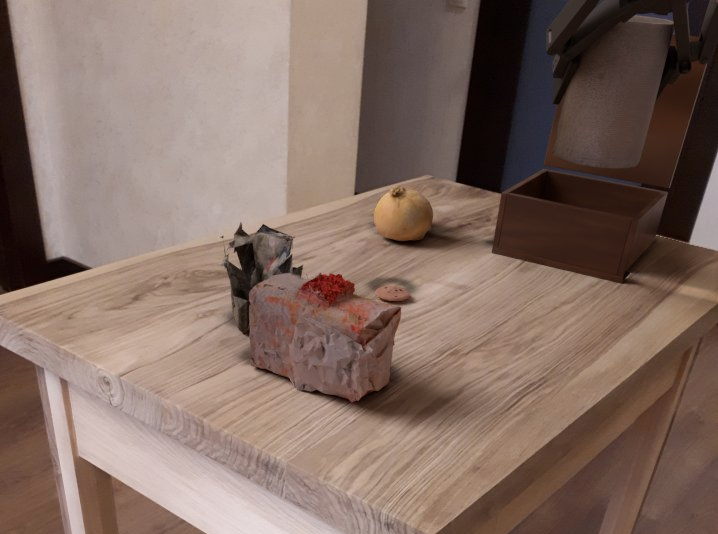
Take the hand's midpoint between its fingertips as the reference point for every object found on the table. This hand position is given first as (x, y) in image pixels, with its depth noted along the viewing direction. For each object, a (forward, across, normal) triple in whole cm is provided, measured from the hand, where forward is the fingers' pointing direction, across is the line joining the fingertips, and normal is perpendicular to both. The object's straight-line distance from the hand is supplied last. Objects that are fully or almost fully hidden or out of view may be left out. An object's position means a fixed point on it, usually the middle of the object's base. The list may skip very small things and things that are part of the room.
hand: (601, 96), depth 88 cm
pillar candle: (+2, 0, -6) cm, 7 cm away
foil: (+4, -36, -26) cm, 44 cm away
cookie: (+7, -22, -22) cm, 32 cm away
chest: (+22, +4, -7) cm, 23 cm away
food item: (-7, -30, -37) cm, 48 cm away
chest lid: (+15, +9, +10) cm, 20 cm away
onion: (+23, -20, -6) cm, 31 cm away
